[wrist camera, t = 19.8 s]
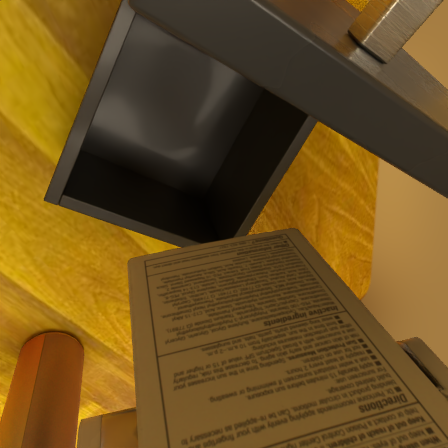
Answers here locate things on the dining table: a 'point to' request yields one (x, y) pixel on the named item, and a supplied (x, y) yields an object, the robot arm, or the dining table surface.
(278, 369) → the cosmetic box
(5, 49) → the dining table surface
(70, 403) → the beverage can
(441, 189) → the bin lid
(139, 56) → the dark brown open box
